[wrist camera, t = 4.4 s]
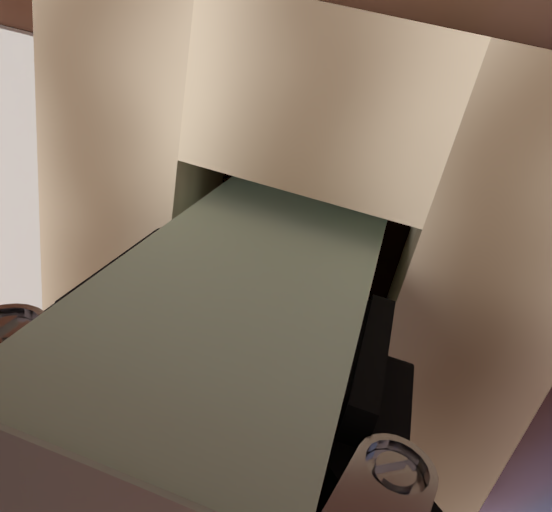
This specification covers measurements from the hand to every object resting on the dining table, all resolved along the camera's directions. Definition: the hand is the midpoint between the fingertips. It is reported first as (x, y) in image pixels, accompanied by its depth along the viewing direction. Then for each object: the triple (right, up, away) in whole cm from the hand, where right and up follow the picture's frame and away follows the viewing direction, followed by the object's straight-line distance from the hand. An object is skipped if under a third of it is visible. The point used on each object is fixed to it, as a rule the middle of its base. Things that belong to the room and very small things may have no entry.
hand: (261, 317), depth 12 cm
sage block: (+1, +2, +4) cm, 4 cm away
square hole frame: (+1, +2, +4) cm, 4 cm away
